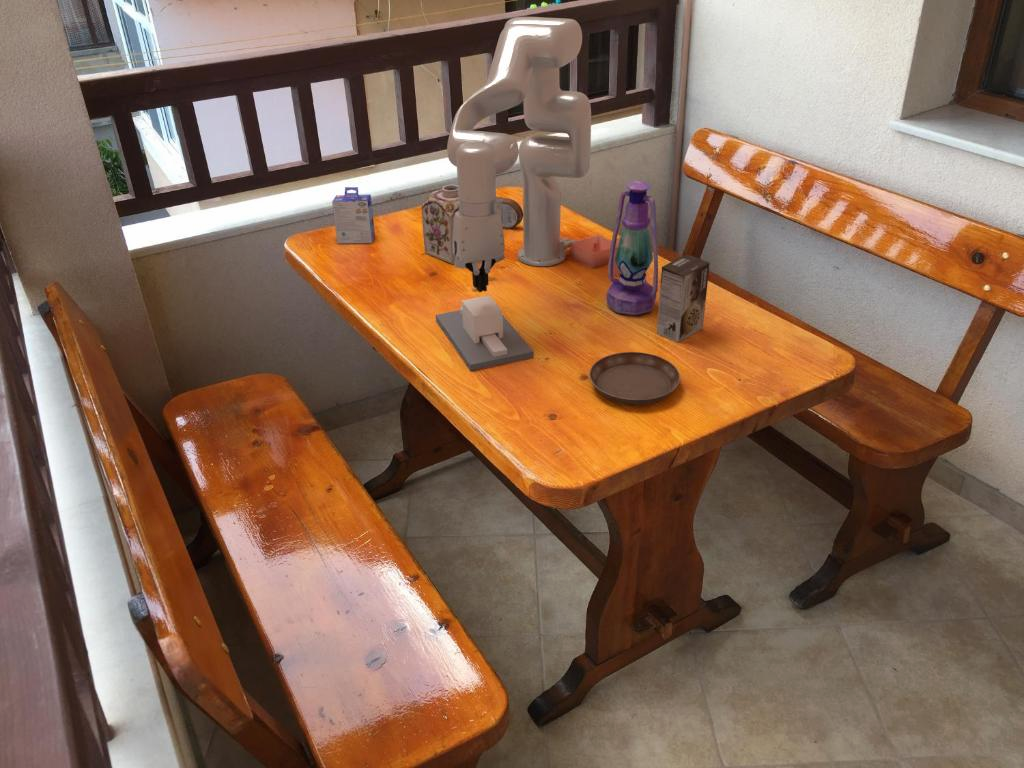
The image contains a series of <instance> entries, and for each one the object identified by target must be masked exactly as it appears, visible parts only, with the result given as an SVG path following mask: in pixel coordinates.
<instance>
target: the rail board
mask: <svg viewBox="0 0 1024 768" xmlns="http://www.w3.org/2000/svg"><path fill="white" fill-rule="evenodd" d="M435 322H436V323H437V325H439V327H440V329H441V331H442V332H443V333H444V335H445V336H446V338H447V339H448V340H449V342H450V343H451V345H452V346H453V348H454V349H455V350H456V352H457V353H458V355H459V356H460V358H461V359H462V361H463V362H464V364H465V365H466V366H467V368H468V369H469V371H470V372H472V371H477V370H482V369H487V368H491V367H496V366H500V365H505V364H510V363H515V362H520V361H524V360H528V359H533V358H534V350H533V349H532V348H531V346H530V345H529V343H527V341H526V340H525V339H524V338H523V337H522V336H521V335H520V333H519V332H518V331H517V330H516V329H515V328H514V326H513V325H512V324H511V323H510V321H509V320H508V318H506V317H505V316H504V315H503V338H498V337H497V336H496V334H495V333H493V334H488V335H483V336H479V343H474V341H473V340H472V339H471V337H470V336H469V334H468V333H467V332H466V330H465V329H464V328H463V316H462V306H461V307H459V309H457V310H453V311H447V312H443V313H437V314H435Z"/></svg>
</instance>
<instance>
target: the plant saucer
mask: <svg viewBox="0 0 1024 768" xmlns="http://www.w3.org/2000/svg"><path fill="white" fill-rule="evenodd" d="M588 375H589V376H588V377H589V380H590V382H591V384H592V385H593V386H594V387H595V389H596V390H597V391H598V392H599V393H600V394H601V395H602V396H603V397H605V398H607V399H608V400H610V401H612V402H615V403H617V404H621V405H627V406H646V405H647V406H648V405H651V404H655V403H657V402H660V401H662V400H664V399H665V398H666V397H668V396H669V395H671V394H672V393H673V392H674V391H675V389H676V388H677V387H678V385H679V384H680V380H681V375H680V372H679V370H678V368H677V367H676V366H675V365H674V364H673V363H672V362H670V361H669V360H668V359H665V358H662V357H661V356H658V355H655V354H653V353H652V354H651V353H646V352H640V351H639V352H638V351H625V352H624V351H623V352H617V353H613V354H608V355H606V356H604V357H602V358H600V359H598V360H596V361H595V363H593V364H592V365H591V367H590V369H589V374H588Z"/></svg>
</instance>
